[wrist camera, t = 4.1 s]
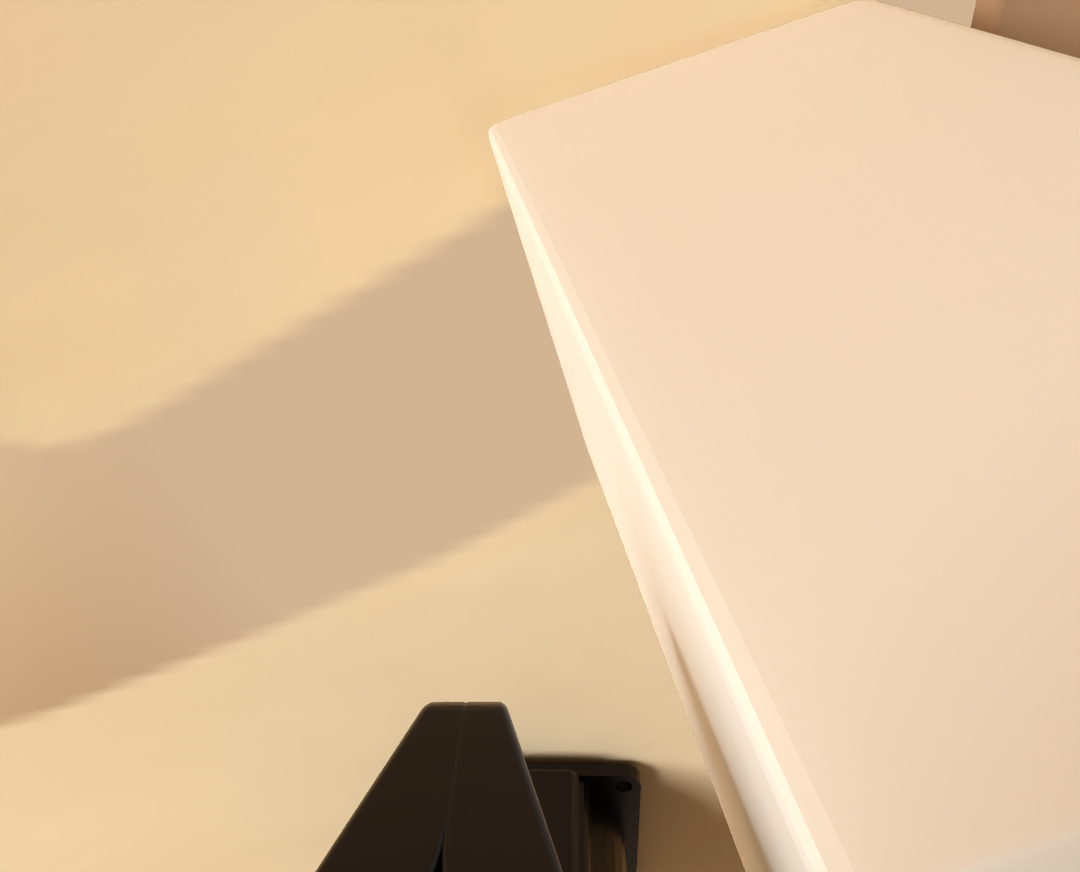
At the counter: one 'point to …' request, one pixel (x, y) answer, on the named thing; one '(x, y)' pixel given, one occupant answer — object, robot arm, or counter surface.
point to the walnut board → (1033, 22)
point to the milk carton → (839, 420)
